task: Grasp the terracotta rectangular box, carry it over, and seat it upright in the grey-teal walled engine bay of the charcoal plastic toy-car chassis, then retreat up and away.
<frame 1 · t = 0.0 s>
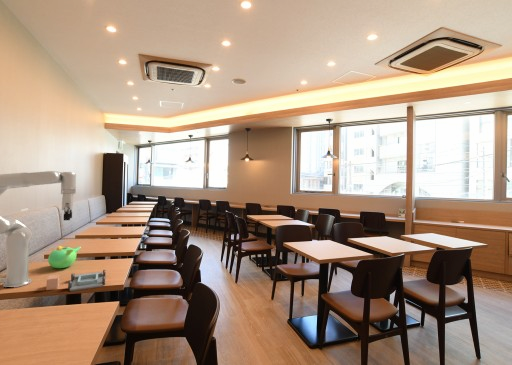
hand: (67, 219, 170), 37 cm above the table, tool pointing down, fingers open, 9 cm apart
chassis: (88, 282, 164), on the table
terracotta rectangular box: (53, 287, 155), on the table
toy bird: (63, 267, 190), on the table
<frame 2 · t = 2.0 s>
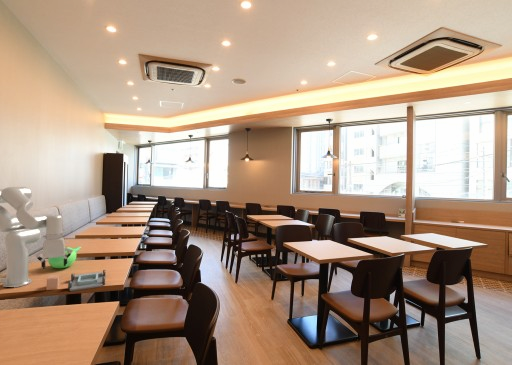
hand: (54, 266, 155), 12 cm above the table, tool pointing down, fingers open, 9 cm apart
nothing on the table moved.
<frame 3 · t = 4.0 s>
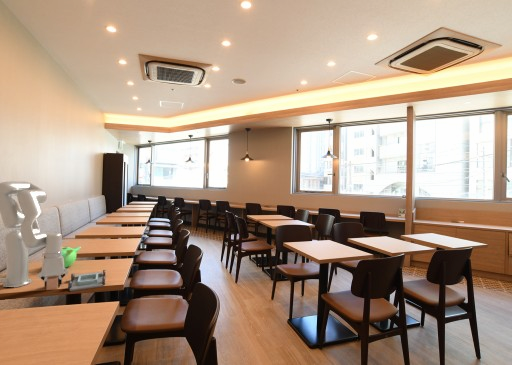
hand: (53, 286, 155), 0 cm above the table, tool pointing down, fingers closed on terracotta rectangular box, 5 cm apart
terracotta rectangular box: (53, 287, 155), on the table, touching gripper
everything else where it was.
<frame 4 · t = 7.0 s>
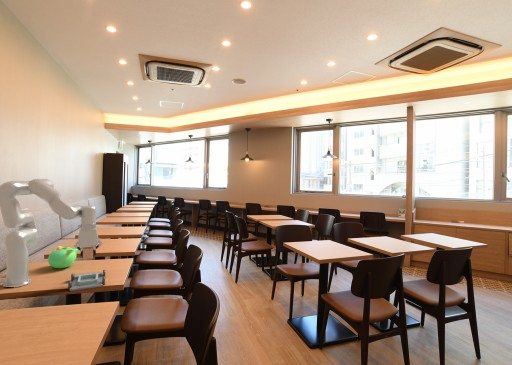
hand: (88, 256, 163), 16 cm above the table, tool pointing down, fingers closed on terracotta rectangular box, 5 cm apart
terracotta rectangular box: (88, 257, 163), point 15 cm above the table, touching gripper
everything else where it was.
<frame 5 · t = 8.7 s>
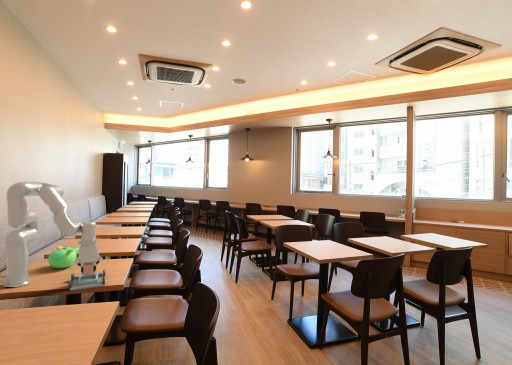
hand: (88, 272, 163), 6 cm above the table, tool pointing down, fingers closed on terracotta rectangular box, 5 cm apart
terracotta rectangular box: (88, 273, 163), point 6 cm above the table, touching gripper
everything else where it was.
when the fingers open (3 cm above the table, at t = 10.1 s): terracotta rectangular box drops 2 cm, resting on chassis.
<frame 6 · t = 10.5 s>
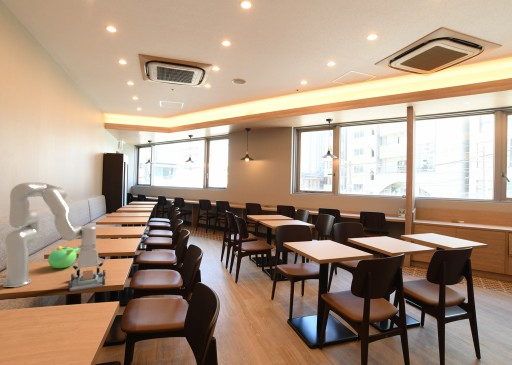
hand: (88, 275, 163), 4 cm above the table, tool pointing down, fingers open, 9 cm apart
terracotta rectangular box: (87, 280, 163), point 1 cm above the table, touching chassis
everything else where it was.
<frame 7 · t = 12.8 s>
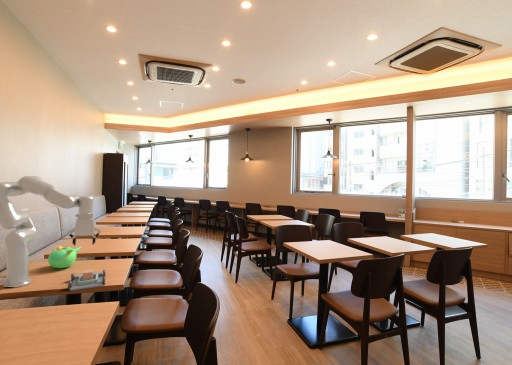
hand: (84, 244, 165), 22 cm above the table, tool pointing down, fingers open, 9 cm apart
nothing on the table moved.
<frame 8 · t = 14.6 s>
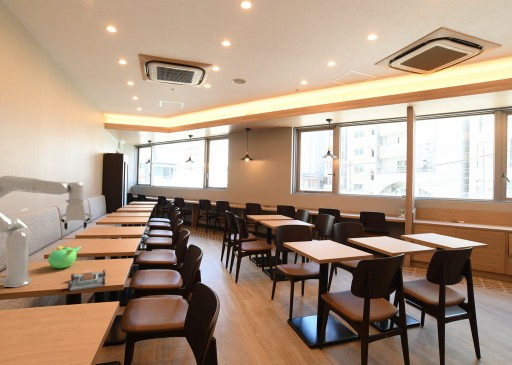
hand: (75, 229, 172), 30 cm above the table, tool pointing down, fingers open, 9 cm apart
nothing on the table moved.
at the end: terracotta rectangular box 0.1 cm off-centre on the chassis, point 1.0 cm above the chassis's base; terracotta rectangular box tilted 0°; the gripper is holding nothing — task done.
